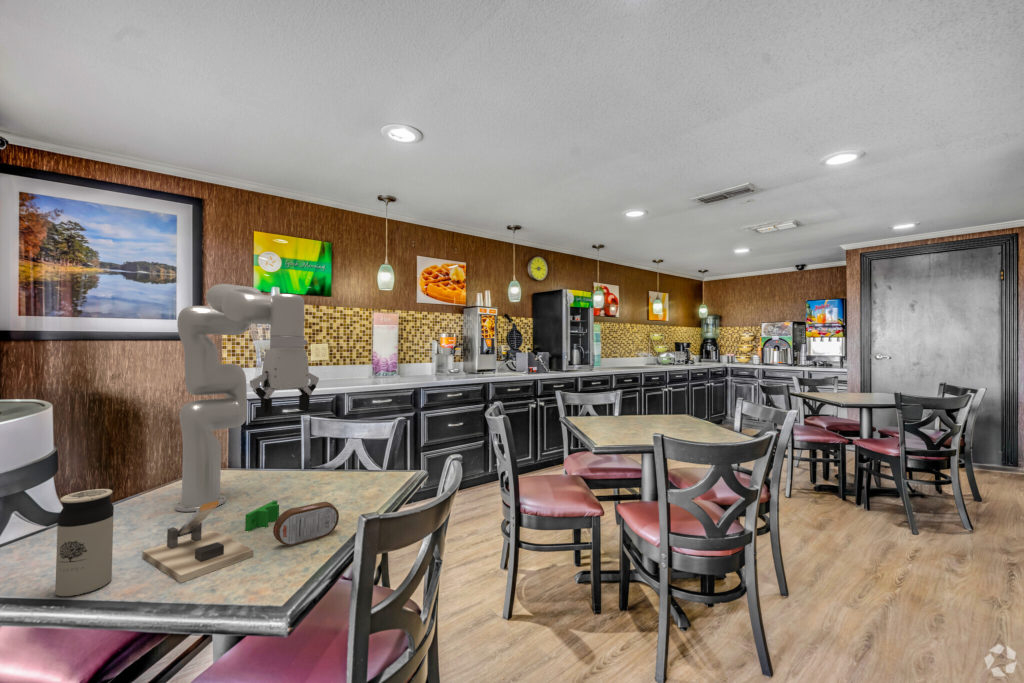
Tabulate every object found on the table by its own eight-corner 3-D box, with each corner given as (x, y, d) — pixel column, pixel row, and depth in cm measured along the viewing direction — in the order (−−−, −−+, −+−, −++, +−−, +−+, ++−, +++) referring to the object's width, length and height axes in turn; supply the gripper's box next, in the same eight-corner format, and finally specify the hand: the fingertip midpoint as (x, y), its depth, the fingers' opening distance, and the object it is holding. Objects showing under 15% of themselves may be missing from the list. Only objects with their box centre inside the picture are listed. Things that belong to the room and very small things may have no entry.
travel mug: (84, 576, 91) (87, 487, 92) (122, 577, 91) (124, 488, 92) (42, 597, 83) (45, 500, 84) (83, 598, 83) (86, 501, 84)
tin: (335, 530, 116) (335, 497, 116) (340, 533, 114) (340, 500, 114) (272, 547, 105) (272, 511, 106) (276, 551, 103) (277, 515, 103)
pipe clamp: (258, 533, 114) (258, 515, 114) (245, 532, 115) (245, 514, 115) (285, 516, 125) (285, 500, 125) (273, 516, 126) (273, 499, 126)
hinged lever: (176, 538, 103) (175, 532, 103) (191, 534, 105) (190, 528, 106) (204, 508, 96) (202, 502, 96) (219, 505, 98) (217, 499, 99)
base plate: (142, 557, 100) (142, 532, 100) (211, 536, 111) (212, 514, 112) (180, 583, 89) (181, 555, 89) (253, 556, 101) (253, 531, 101)
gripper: (309, 344, 120) (308, 408, 120) (243, 343, 106) (241, 415, 105) (327, 344, 116) (326, 410, 116) (260, 343, 102) (259, 418, 101)
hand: (285, 412), depth 111 cm, fingers open, 9 cm apart
